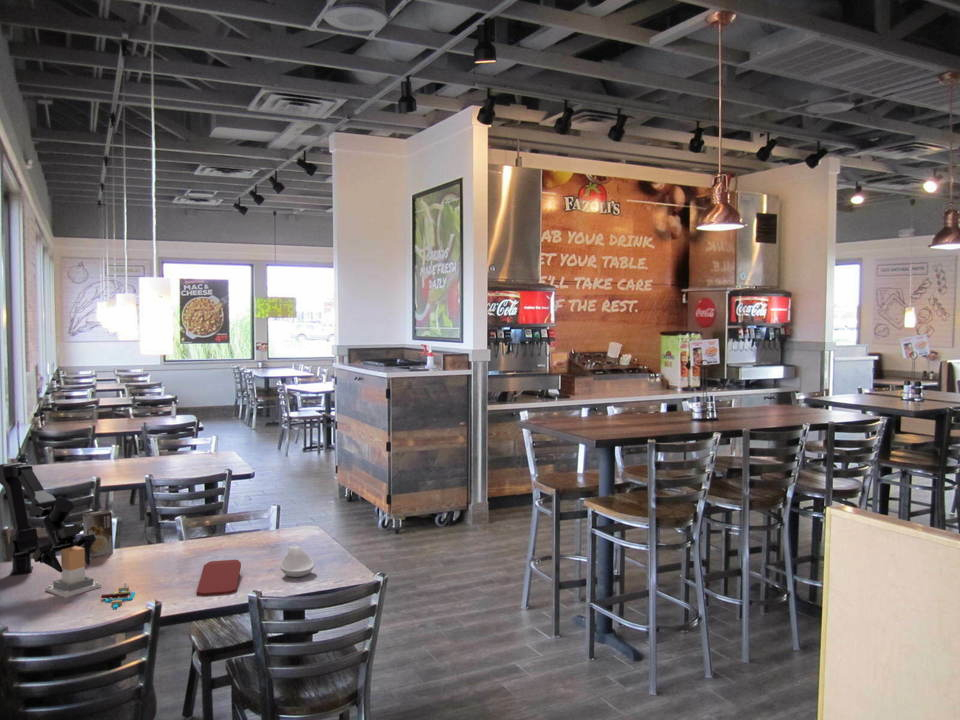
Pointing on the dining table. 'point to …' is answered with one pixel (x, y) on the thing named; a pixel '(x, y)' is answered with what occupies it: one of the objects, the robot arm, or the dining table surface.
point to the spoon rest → (296, 563)
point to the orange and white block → (73, 565)
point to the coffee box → (99, 531)
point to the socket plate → (72, 587)
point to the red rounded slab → (219, 577)
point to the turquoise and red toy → (121, 594)
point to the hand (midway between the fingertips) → (75, 568)
